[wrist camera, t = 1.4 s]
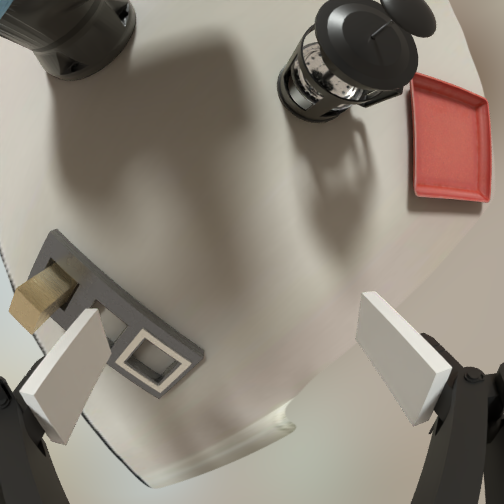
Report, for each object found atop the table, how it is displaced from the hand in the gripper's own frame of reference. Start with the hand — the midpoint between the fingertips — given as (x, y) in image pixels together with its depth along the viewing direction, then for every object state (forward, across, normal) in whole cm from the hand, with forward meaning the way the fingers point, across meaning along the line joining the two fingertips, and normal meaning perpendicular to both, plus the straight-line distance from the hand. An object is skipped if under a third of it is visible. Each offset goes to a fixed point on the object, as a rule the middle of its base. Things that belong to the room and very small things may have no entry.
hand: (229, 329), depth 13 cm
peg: (+24, -26, -6) cm, 35 cm away
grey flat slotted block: (+24, -19, -12) cm, 33 cm away
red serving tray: (+24, +34, +12) cm, 44 cm away
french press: (+24, +12, +17) cm, 32 cm away
